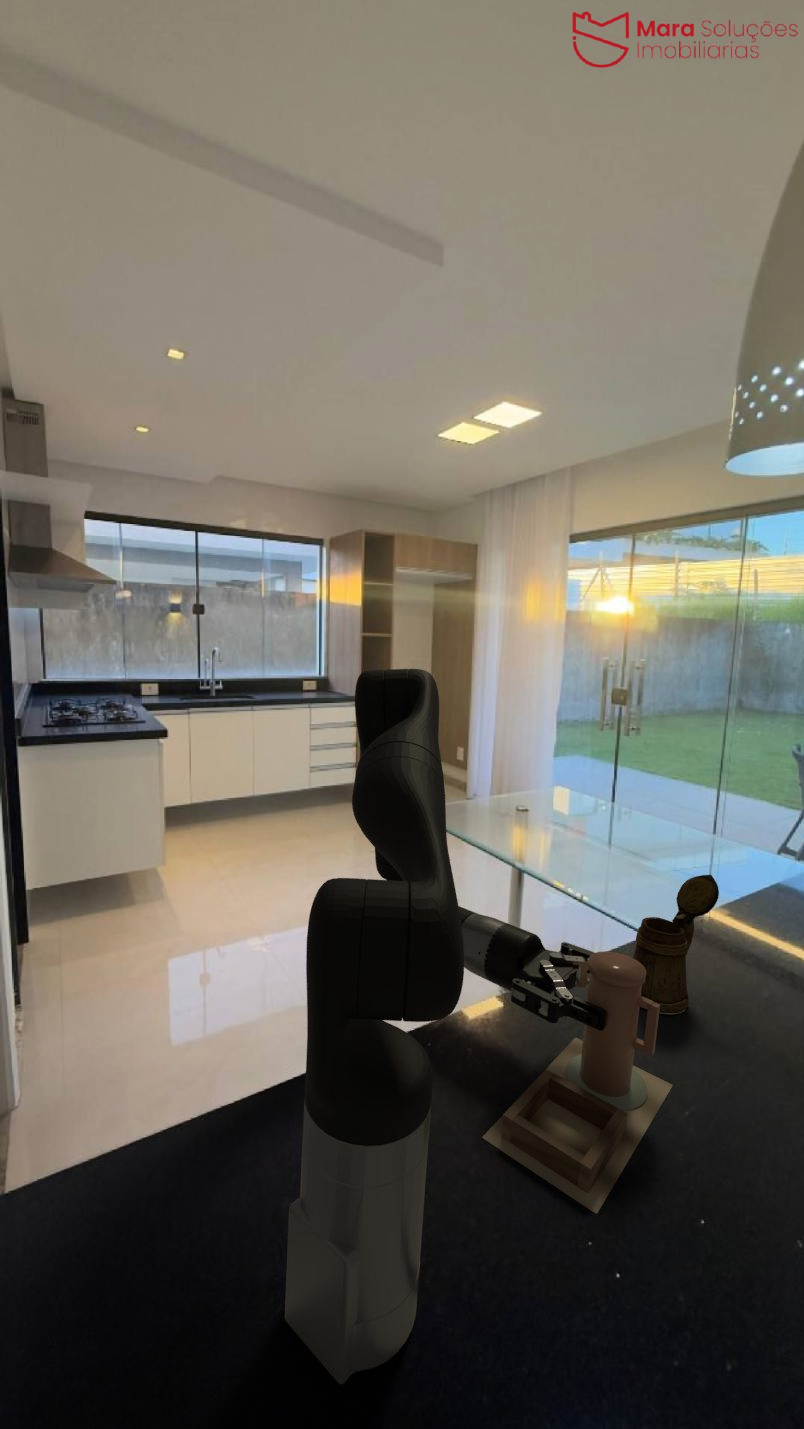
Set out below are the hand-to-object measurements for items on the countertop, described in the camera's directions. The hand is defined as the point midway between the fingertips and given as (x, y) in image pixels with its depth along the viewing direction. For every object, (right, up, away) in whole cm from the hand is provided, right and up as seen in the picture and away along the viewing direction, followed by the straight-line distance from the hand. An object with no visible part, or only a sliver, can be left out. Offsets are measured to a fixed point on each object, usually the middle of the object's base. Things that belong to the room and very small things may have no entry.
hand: (620, 1004), depth 69 cm
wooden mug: (+15, -9, +22) cm, 28 cm away
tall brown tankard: (-1, -9, +2) cm, 10 cm away
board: (-5, -11, -3) cm, 12 cm away
